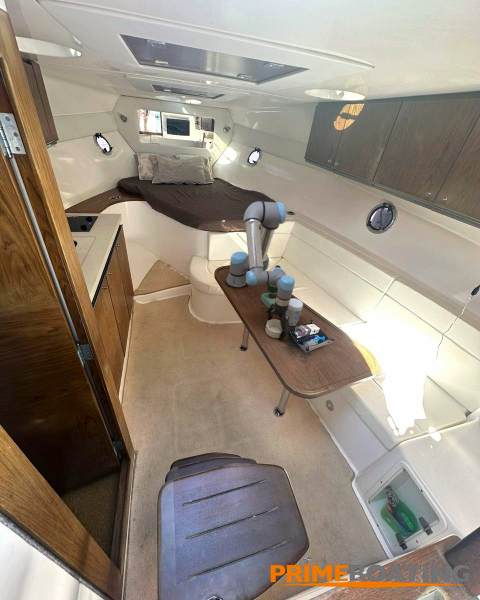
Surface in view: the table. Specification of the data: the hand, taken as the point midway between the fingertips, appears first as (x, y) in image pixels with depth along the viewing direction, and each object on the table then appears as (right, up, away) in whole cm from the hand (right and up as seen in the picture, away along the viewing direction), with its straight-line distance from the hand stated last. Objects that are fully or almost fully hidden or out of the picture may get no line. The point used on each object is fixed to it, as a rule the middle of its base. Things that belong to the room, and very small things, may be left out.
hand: (274, 331), depth 147 cm
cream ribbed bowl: (0, 0, 0) cm, 0 cm away
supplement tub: (+11, +5, +10) cm, 15 cm away
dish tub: (+4, +16, +23) cm, 28 cm away
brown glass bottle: (+2, +21, +29) cm, 36 cm away
